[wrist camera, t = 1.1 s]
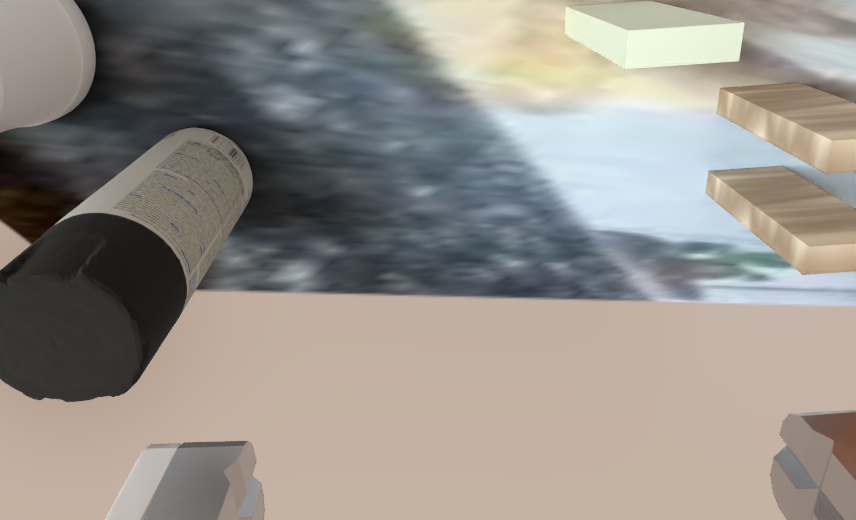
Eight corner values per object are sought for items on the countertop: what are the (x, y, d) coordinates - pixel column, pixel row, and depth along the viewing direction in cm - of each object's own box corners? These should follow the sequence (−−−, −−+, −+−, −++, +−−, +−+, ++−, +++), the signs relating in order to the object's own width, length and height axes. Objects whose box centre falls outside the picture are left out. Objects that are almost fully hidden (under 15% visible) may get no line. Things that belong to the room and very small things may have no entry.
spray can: (143, 124, 40) (-68, 267, 23) (251, 123, 41) (127, 265, 23) (163, 221, 43) (-10, 416, 25) (263, 220, 44) (161, 412, 26)
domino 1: (565, 6, 38) (627, 30, 27) (649, 0, 38) (744, 22, 27) (564, 34, 39) (625, 69, 28) (647, 28, 39) (738, 61, 28)
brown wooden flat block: (720, 88, 40) (832, 140, 30) (798, 82, 40) (940, 133, 30) (716, 113, 41) (825, 173, 30) (794, 107, 41) (930, 166, 30)
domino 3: (708, 170, 43) (809, 246, 32) (782, 165, 43) (908, 239, 32) (705, 193, 44) (802, 274, 33) (778, 188, 44) (899, 268, 33)
